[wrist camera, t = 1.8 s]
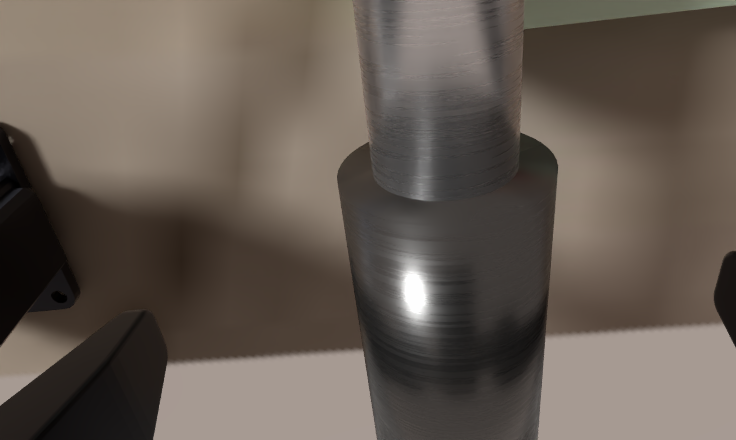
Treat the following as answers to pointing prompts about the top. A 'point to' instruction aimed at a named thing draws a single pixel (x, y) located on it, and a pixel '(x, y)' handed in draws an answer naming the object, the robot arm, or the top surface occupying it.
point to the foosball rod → (448, 222)
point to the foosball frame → (605, 10)
